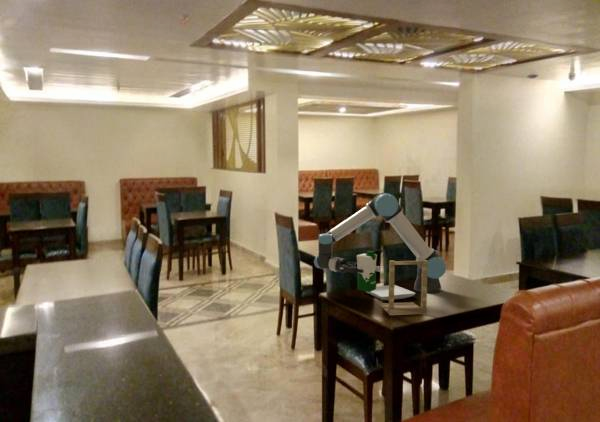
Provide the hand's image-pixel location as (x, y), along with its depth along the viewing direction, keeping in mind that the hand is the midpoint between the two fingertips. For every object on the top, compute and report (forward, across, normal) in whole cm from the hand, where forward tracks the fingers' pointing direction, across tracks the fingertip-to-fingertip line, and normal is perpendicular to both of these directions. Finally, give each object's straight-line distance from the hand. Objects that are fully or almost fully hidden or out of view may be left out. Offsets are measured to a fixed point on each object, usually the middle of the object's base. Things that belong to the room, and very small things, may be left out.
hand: (374, 270), depth 241 cm
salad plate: (-5, -21, -18) cm, 29 cm away
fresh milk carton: (-5, 0, -11) cm, 12 cm away
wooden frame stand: (+14, -4, -18) cm, 23 cm away
